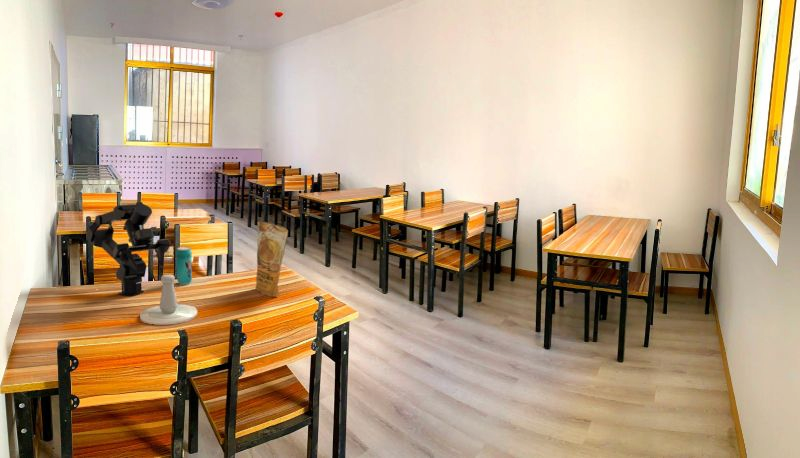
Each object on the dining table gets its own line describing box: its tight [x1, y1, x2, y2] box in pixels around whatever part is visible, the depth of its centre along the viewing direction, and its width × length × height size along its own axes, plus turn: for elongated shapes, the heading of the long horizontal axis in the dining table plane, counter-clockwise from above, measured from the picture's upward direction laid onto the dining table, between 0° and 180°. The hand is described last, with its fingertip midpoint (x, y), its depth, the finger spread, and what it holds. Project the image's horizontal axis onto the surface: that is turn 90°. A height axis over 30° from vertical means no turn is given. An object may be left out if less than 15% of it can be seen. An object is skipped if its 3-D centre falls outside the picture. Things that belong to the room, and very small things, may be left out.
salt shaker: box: [159, 274, 178, 314], centre depth 180 cm, size 6×6×13 cm
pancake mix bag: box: [255, 221, 289, 298], centre depth 211 cm, size 7×19×28 cm, turn 44°
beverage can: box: [176, 246, 193, 286], centre depth 218 cm, size 6×6×15 cm
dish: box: [139, 304, 198, 326], centre depth 181 cm, size 18×18×1 cm
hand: (149, 267), depth 190 cm, fingers open, 9 cm apart
